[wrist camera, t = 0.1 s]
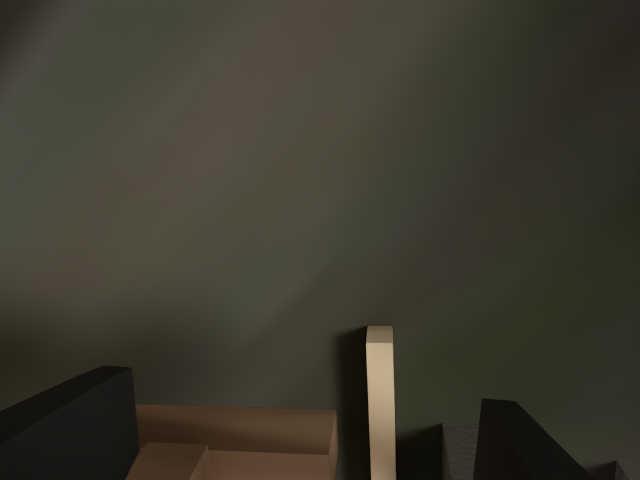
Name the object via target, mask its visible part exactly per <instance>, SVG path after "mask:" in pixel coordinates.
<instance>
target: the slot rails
mask: <svg viewBox="0 0 640 480" xmlns="http://www.w3.org/2000/svg"><path fill="white" fill-rule="evenodd" d="M366 355H367V380H368V406H369V432H370V457H371V480H396V453H395V410H394V367H393V326H368V329H367V338H366Z"/></svg>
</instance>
